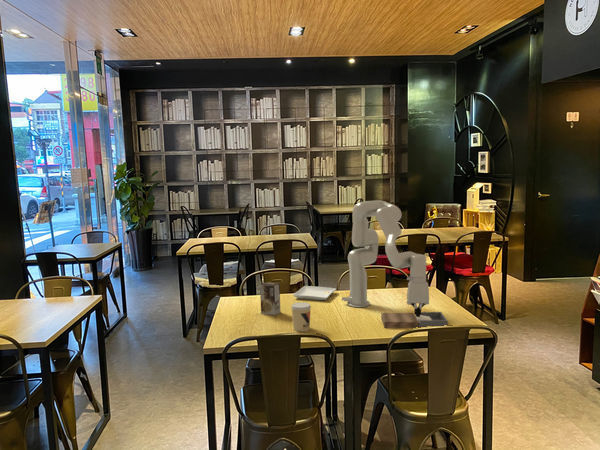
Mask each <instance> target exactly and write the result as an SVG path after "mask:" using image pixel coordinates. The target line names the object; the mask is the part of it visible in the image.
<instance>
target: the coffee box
mask: <svg viewBox="0 0 600 450" xmlns="http://www.w3.org/2000/svg"><path fill="white" fill-rule="evenodd" d="M280 287H281V284H280V282H269V281H267V282H262V283H261V284H259V292H260V293H259V294H260V295H259V297H260V298H259V300H260V313H261V315H268V316H269V315H270V316H277V315H278V314H280V313H281V293H280V292H281V291H280V290H281V289H280Z"/></svg>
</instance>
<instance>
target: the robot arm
mask: <svg viewBox="0 0 600 450" xmlns="http://www.w3.org/2000/svg"><path fill="white" fill-rule="evenodd" d="M370 217H376V220H377V222H378V224H379V227H380V228H381V231H382V232H383V234H384V236H385V244H384V249H385V254H386V256H387V260H388V261H389V263H390V265H391V266H392V267H393V268H395V269H398V270H399V269H404V268H409V270H410V272H409V276H408V277H406V280H407V281H408V284H407V292H406V293H407V294H406V297H407V298H406V299H407V300H406V304H407V305H409V306H411V307H413V308H414V309H413V310H414V313H413V314H414V316H415V315H416V317H418V316H419V317H420V315H421V312H422V308H423V307H425V306H427V305H430V289H429V283H428V282H427V256H426V255H425V254H421V253H416V252H413V251H404V252H399V251H398V249H397V246H396V240H397V238H398V237H400V236H401V235H402V229H401V227H400V225H399V223H398V222H399V221H400V220H401V218H402V211H401V209H400V208H399V207H398V206H397V205H394V204H392V203H389V202H387V201H384V200H380V199H378V200H366V201H359V202H358V203H356V204H355V205H354V206H353V208H352V232H351V243H352V245H353V247H355V248H356V249H352V250H351V251H349V253H348V255H347V261H348V268H349V295H348V296H347V297H345V296H341V301H343V302H346V303H347V304H346V305H347V306H349V307H352V308H366V307H369V306H370V304H371V303H370V301H369V300H368V275H367V274H368V273H367V270H366V268H365V266H368V265H371V264H372V265H373V264H374V263H375V262H376V261H377V258H378V252H379V240H380V238H379V235H378V232H377V231H376V230H375V229H373V228H369V220H368V218H370Z"/></svg>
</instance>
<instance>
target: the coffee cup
mask: <svg viewBox="0 0 600 450" xmlns="http://www.w3.org/2000/svg"><path fill="white" fill-rule="evenodd" d="M311 307H312V306H311V304H310V303H308V302H304V301H303V302H302V301H301V302H295V303H292V305H291V315H292V317H291V318H292V327H293V330H294V331H295V332H300V331H303V332H308V331H309V330H310V329H311V328H310V324H311Z"/></svg>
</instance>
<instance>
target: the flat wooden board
mask: <svg viewBox="0 0 600 450" xmlns="http://www.w3.org/2000/svg"><path fill="white" fill-rule="evenodd" d="M380 315H381V317H380V318H381V319H380V320H381V322H382V324H383V329H417V328H416V327H418V321H417V319H416V317H415V314H414V313H413V312H381V314H380ZM418 328H419V327H418Z"/></svg>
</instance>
